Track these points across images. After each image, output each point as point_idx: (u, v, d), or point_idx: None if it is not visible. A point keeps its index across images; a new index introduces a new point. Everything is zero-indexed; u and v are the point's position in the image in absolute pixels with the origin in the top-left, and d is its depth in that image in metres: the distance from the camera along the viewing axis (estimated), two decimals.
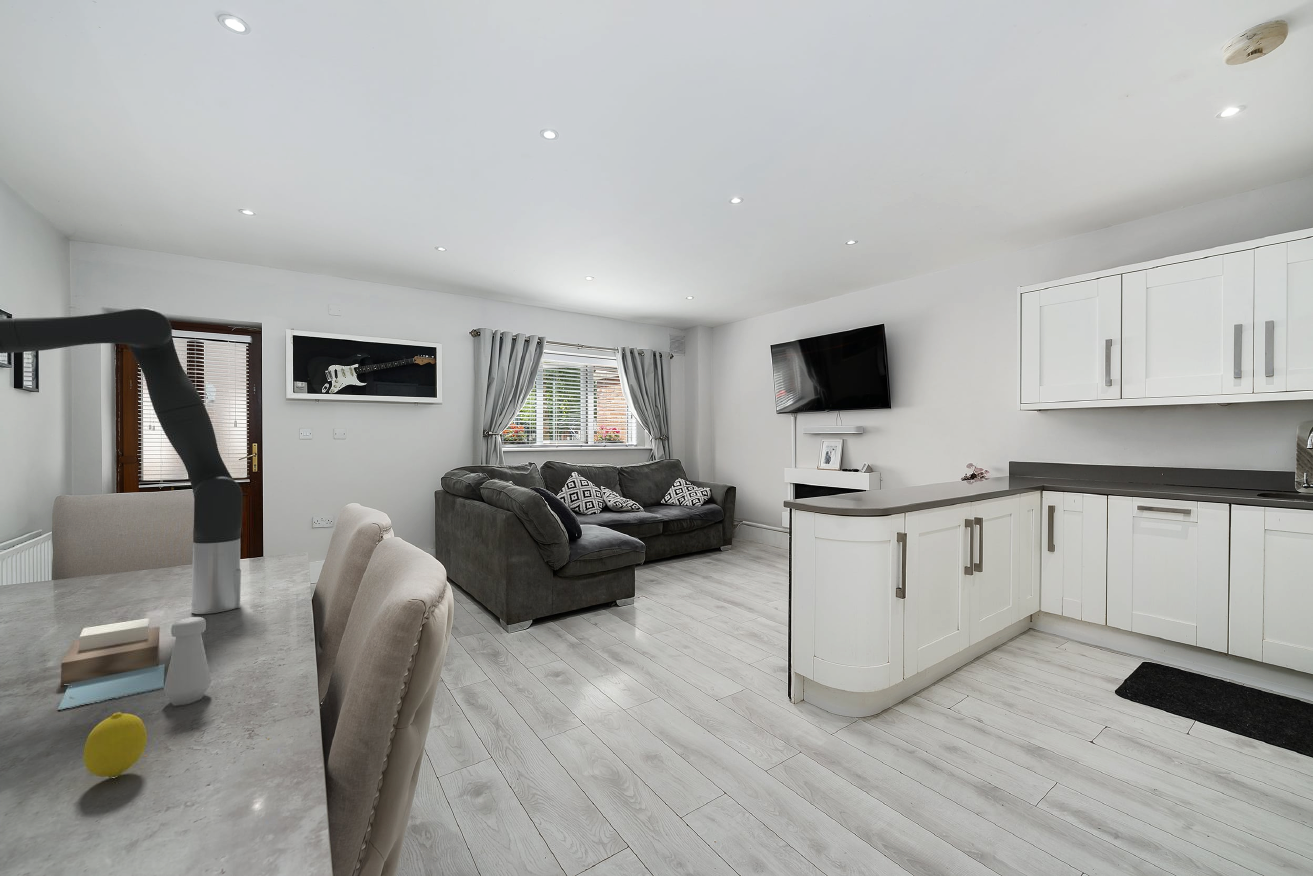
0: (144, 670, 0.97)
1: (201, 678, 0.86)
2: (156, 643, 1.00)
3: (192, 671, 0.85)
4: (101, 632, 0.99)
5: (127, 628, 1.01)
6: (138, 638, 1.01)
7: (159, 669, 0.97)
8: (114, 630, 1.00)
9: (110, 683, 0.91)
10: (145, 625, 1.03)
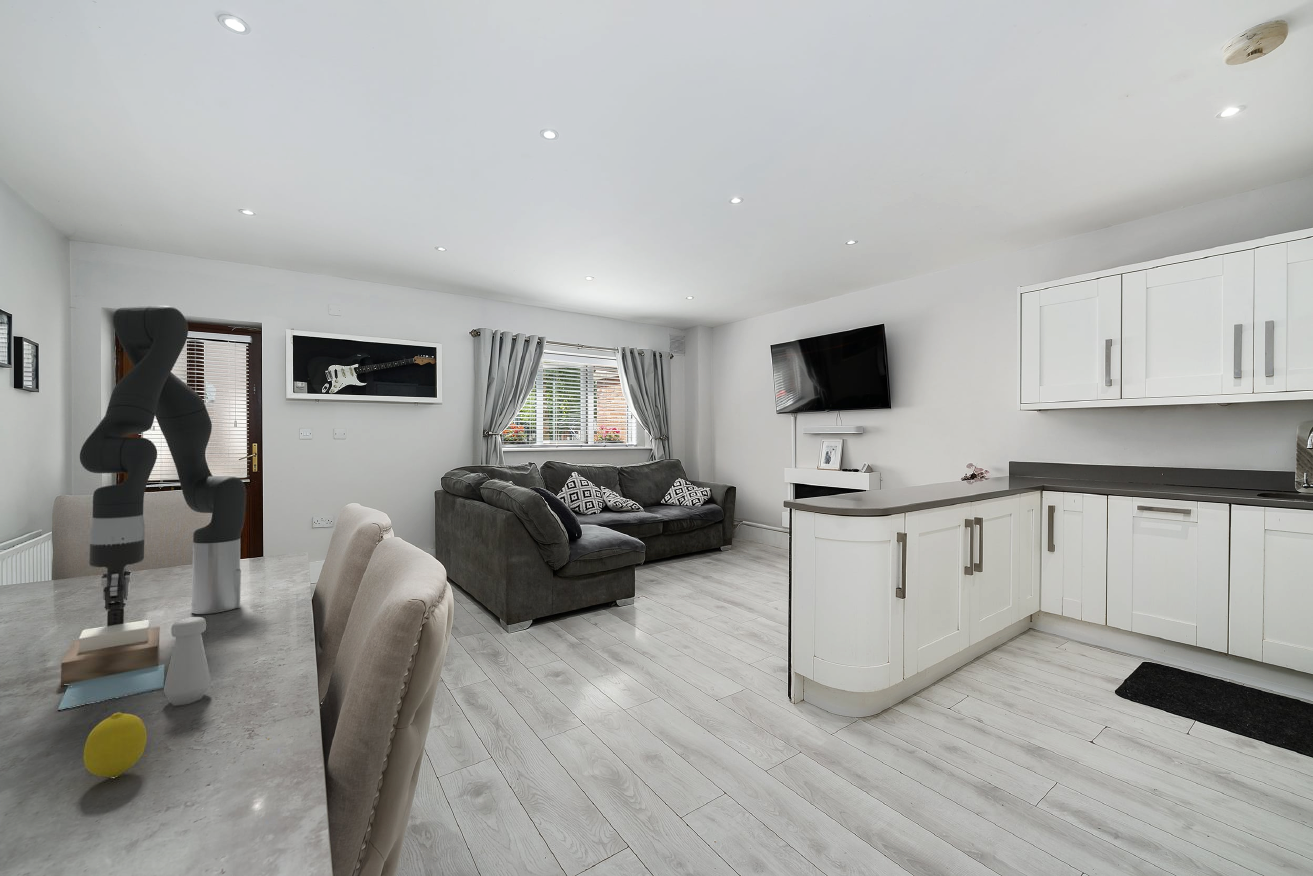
0: (144, 670, 0.97)
1: (201, 678, 0.86)
2: (156, 643, 1.00)
3: (192, 671, 0.85)
4: (101, 634, 0.98)
5: (127, 630, 1.00)
6: (138, 640, 1.01)
7: (159, 669, 0.97)
8: (114, 632, 0.99)
9: (110, 683, 0.91)
10: (145, 627, 1.02)
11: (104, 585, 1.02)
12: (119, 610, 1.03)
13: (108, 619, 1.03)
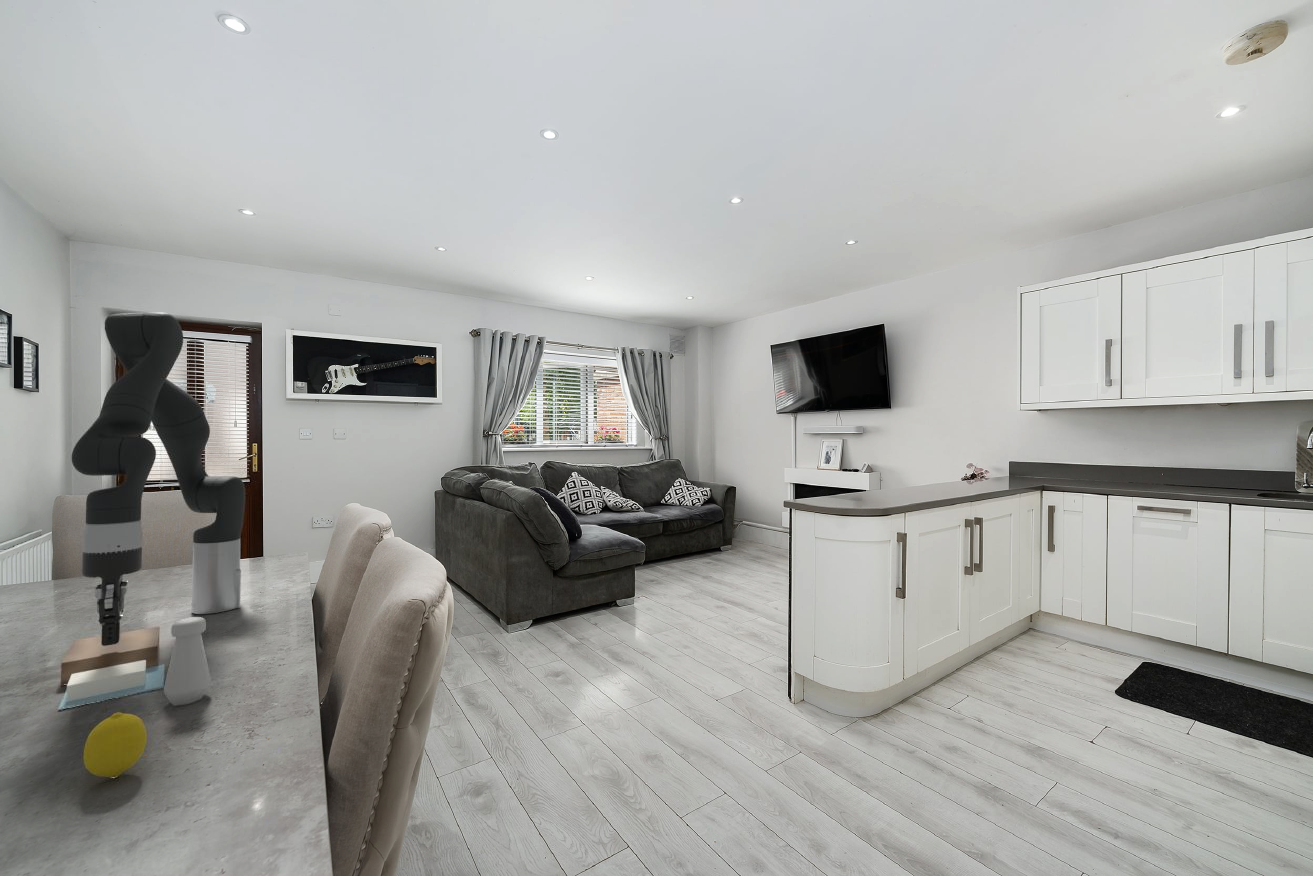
0: None
1: (201, 678, 0.86)
2: (156, 643, 1.00)
3: (192, 671, 0.85)
4: None
5: None
6: None
7: (159, 669, 0.97)
8: None
9: None
10: None
11: (98, 597, 0.94)
12: (114, 624, 0.95)
13: (102, 634, 0.95)
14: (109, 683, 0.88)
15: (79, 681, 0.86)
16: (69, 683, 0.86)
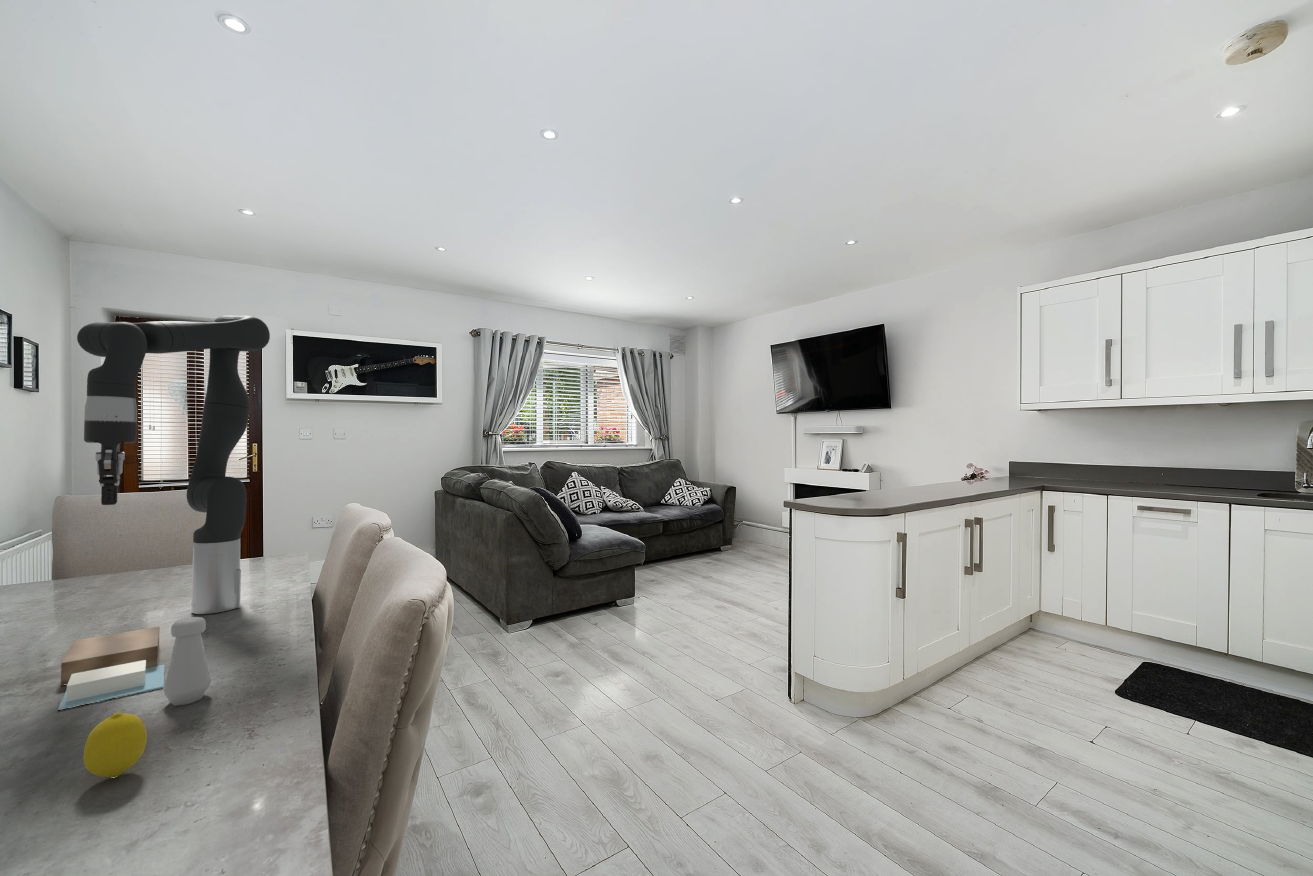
0: None
1: (201, 678, 0.86)
2: (156, 643, 1.00)
3: (192, 671, 0.85)
4: None
5: None
6: None
7: (159, 669, 0.97)
8: None
9: None
10: None
11: (98, 460, 1.07)
12: (113, 486, 1.08)
13: (102, 494, 1.08)
14: (109, 683, 0.88)
15: (79, 681, 0.86)
16: (69, 683, 0.86)
